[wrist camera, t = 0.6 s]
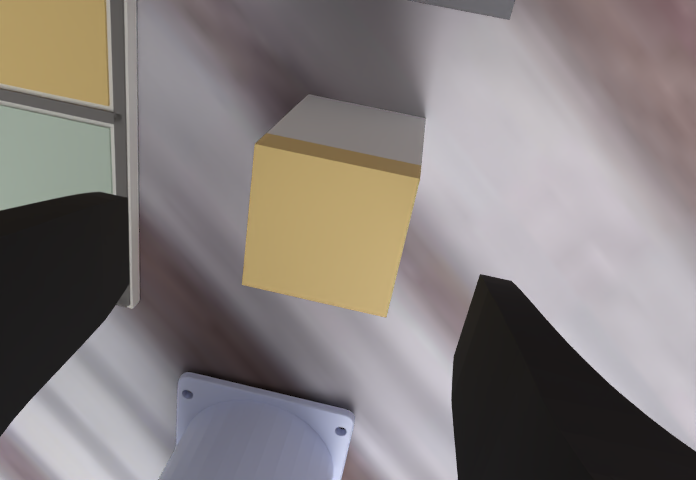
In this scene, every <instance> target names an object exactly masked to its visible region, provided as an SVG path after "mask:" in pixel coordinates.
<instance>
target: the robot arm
mask: <svg viewBox="0 0 696 480" xmlns="http://www.w3.org/2000/svg"><path fill="white" fill-rule="evenodd" d="M129 284H130V261H129V213H128V198H127V197H122V196H118V195H113V194H108V193H104V192H89V193H81V194H75V195H70V196H65V197H60V198H55V199H50V200H46V201H41V202H36V203H32V204H27V205H23V206H18V207H14V208H9V209H5V210H0V436H1V435H2V434H3V432H4V431H5V430H6V428H7V427H8V426H9V424H10V423H11V422H12V421H13V419H14V418H15V417H16V416H17V415H18V413H19V412H20V411H21V410H22V409H23V408H24V407H25V405H26V404H27V403H28V402H29V401H30V400H31V399H32V398H33V396H34V395H35V394H36V393H37V392H38V391H39V390H40V389H41V388H42V387H43V386H44V385H45V384H46V383H47V382H48V381H49V380H50V378H51V377H52V376H53V375H54V374H55V373H56V372H57V371H58V370H59V369H60V368H61V367H62V366H63V365H64V364H65V363H66V362H67V360H68V359H69V358H70V357H71V356H72V355H73V354H74V353H75V352H76V351H77V350H78V349H79V348H80V347H81V346H82V345H83V343H84V342H85V341H86V340H87V339H88V338H89V337H90V336H91V335H92V334H93V333H94V332H95V330H96V329H97V328H98V327H99V326H100V325H101V324H102V323H103V322H104V320H105V319H106V318H107V316H108V315H109V314H110V312H111V311H112V309H113V308H114V307H115V305H116V304H117V302H118V301H119V299H120V298H121V296H122V295H123V293H124V292H125V290H126V289H127V287H128V285H129ZM187 390H189V391H191V392H192V393H190V392H188V391H187ZM451 401H452V414H453V426H454V438H455V450H456V461H457V472H458V480H696V452H695V451H694V450H693V449H691V448H690V447H688V446H687V445H686V444H684V443H683V442H681V441H680V440H679V439H677V438H676V437H674V436H673V435H672V434H670V433H669V432H668V431H666V430H665V429H664V428H662V427H661V426H660V425H658V424H657V423H656V422H654V421H653V420H652V419H651V418H649V417H648V416H647V415H646V414H645V413H643V412H642V411H641V410H640V409H639V408H637V407H636V406H635V405H634V404H632V403H631V402H630V401H629V400H628V399H626V398H625V397H624V396H623V395H622V394H620V393H619V392H618V391H617V390H616V389H615V388H614V387H612V386H611V385H610V384H609V383H608V382H607V381H606V380H605V379H604V378H603V377H602V376H601V375H600V374H598V373H597V372H596V371H595V370H594V369H593V368H592V367H591V366H590V365H589V364H588V363H587V362H586V361H585V360H584V359H583V358H582V357H581V356H580V355H579V354H578V353H577V352H576V351H575V350H574V349H573V348H572V347H571V346H570V345H569V344H568V343H567V342H566V340H565V339H564V338H563V337H562V336H561V335H560V334H559V333H558V332H557V331H556V330H555V328H554V327H553V326H552V325H551V324H550V323H549V322H548V321H547V320H546V318H545V317H544V316H543V315H542V314H541V313H540V312H539V310H538V309H537V308H536V307H535V306H534V305H533V304H532V302H531V301H530V300H529V299H528V298H527V297H526V296H525V295H524V293H523V292H522V291H521V290H520V289H519V288H518V287H517V286H516V285H515V284H514V283H513V282H512V281H509V280H504V279H500V278H495V277H491V276H486V275H481V274H480V276H479V279H478V282H477V286H476V289H475V292H474V295H473V298H472V301H471V304H470V307H469V311H468V314H467V317H466V320H465V323H464V326H463V329H462V332H461V336H460V339H459V342H458V345H457V348H456V351H455V354H454V361H453V377H452V400H451ZM354 423H355V416H354V414H353V413H352V412H351V411H349V410H347V409H343V408H339V407H335V406H330V405H326V404H322V403H318V402H314V401H309V400H305V399H301V398H297V397H293V396H289V395H284V394H280V393H276V392H272V391H268V390H263V389H259V388H255V387H251V386H247V385H242V384H238V383H234V382H230V381H226V380H221V379H217V378H213V377H209V376H205V375H201V374H196V373H192V372H186V373H183V374H182V375H181V377H180V378H179V380H178V385H177V419H176V448H175V450H174V452H173V454H172V456H171V457H170V459H169V461H168V463H167V465H166V467H165V468H164V470H163V472H162V474H161V476H160V477H159V479H158V480H341V478H342V474H343V470H344V465H345V461H346V457H347V453H348V449H349V444H350V440H351V436H352V432H353V427H354ZM338 427H343V428H345V429H340V428H338Z"/></svg>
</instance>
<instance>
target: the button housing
mask: <svg viewBox="0 0 696 480" xmlns="http://www.w3.org/2000/svg"><path fill="white" fill-rule="evenodd" d="M409 1H414V2H420V3H425V4H430V5H435V6H440V7H446V8H451V9H456V10H461V11H466V12H472V13H477V14H482V15H487V16H492V17H498V18H503V19H508V20H510V16H511V13H512V9H513V6H514V2H515V0H409Z"/></svg>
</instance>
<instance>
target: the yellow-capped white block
mask: <svg viewBox="0 0 696 480" xmlns="http://www.w3.org/2000/svg"><path fill="white" fill-rule="evenodd" d="M425 121H426V118H422V117H417V116H413V115H408V114H403V113H398V112H393V111H388V110H383V109H378V108H374V107H369V106H364V105H359V104H354V103H349V102H344V101H339V100H334V99H330V98H325V97H320V96H315V95H310V94H308V95H307V96H306V97H305V98H304V99H303V100H302V101H300V102H299V103H298V104H297V105H296V106H295V107H294V108H293V109H292V110H291V111H290V112H289V113H288V114H286V115H285V116H284V117H283V118H282V119H281V120H280V121H279V122H278V123H277V124H276V125H275V126H274V127H273V128H271V129H270V130H269V131H268V132H267V133H266V134H265V135H264V136H263V137H262V138H261V139H260V140H259V141H257V142H256V143H255V147H254V158H253V169H252V180H251V191H250V202H249V213H248V224H247V234H246V245H245V256H244V267H243V278H242V285H245V286H250V287H254V288H258V289H263V290H267V291H272V292H276V293H280V294H285V295H289V296H294V297H298V298H302V299H307V300H311V301H316V302H320V303H324V304H329V305H333V306H338V307H342V308H346V309H351V310H355V311H360V312H364V313H368V314H373V315H377V316H381V317H387V313H388V308H389V304H390V300H391V296H392V292H393V288H394V284H395V280H396V276H397V271H398V267H399V263H400V259H401V255H402V251H403V247H404V243H405V238H406V234H407V230H408V226H409V222H410V218H411V214H412V210H413V206H414V201H415V197H416V193H417V189H418V185H419V181H420V173H421V163H422V152H423V142H424V132H425Z"/></svg>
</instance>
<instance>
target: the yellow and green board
mask: <svg viewBox="0 0 696 480" xmlns="http://www.w3.org/2000/svg"><path fill="white" fill-rule="evenodd" d="M89 192H104V193H108V194H113V195H118V196H122V197H127V198H128V213H129V261H130V284H129V285H128V287H127V289H126V290H125V292H124V293H123V295H122V296H121V298H120V299H119V301H118V302H117V304H116V305H119V306H123V307H127V308H131V309H133V308H134V307H135V306H136V305H137V304H138V302H139V301H140V274H139V186H138V98H137V10H136V0H0V210H5V209H9V208H14V207H18V206H23V205H27V204H32V203H36V202H41V201H46V200H50V199H55V198H60V197H65V196H70V195H75V194H81V193H89Z"/></svg>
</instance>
